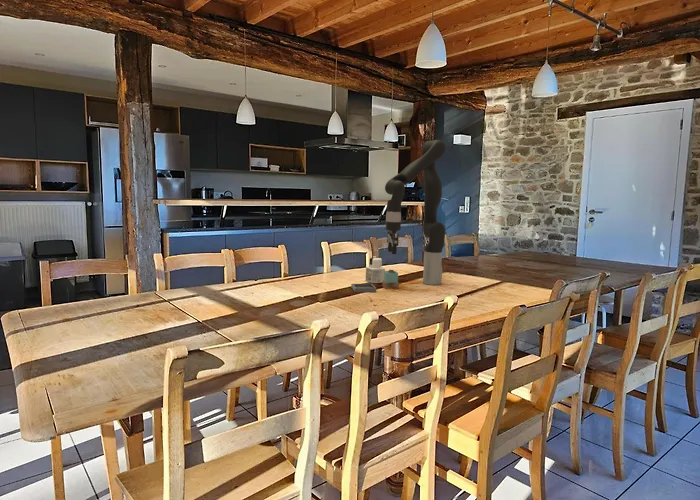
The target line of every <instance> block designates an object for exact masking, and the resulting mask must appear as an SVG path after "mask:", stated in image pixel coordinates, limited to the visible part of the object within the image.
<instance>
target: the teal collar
mask: <svg viewBox="0 0 700 500" xmlns="http://www.w3.org/2000/svg"><path fill="white" fill-rule="evenodd" d="M384 281H385V282H386V283H399V272H397V270H394V273H389V270H385V271H384Z"/></svg>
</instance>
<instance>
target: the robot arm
mask: <svg viewBox="0 0 700 500" xmlns="http://www.w3.org/2000/svg"><path fill="white" fill-rule="evenodd" d="M421 148H422V149H421V154H422V156H420V157H419V158H417V159H415V160H414V161H412V162H410V163H409V164H408V165H407V166H405V168H403V169H402V170H401V172H399V173H398V174H396V175H395V176H393V177H391V178H390V179H389V180H387V182H386V183H385V186H384V191H385V193H387V194H388V195H391V198H390V199H389V200H387V203H386V213H385V214H386V215H385V230H386V231H387V233H386V234H387V235H386V243H387V252H388V253H389V252H391V254H392V255H397V250H398V249H397V247H398V246H399V235H400V234H399V233H397V232H398V231H399V232H400V231H401V227H402V225H401V224H402V213H401V212H402V202H403V199H404V196H405V191H406V187H405V185H408V184H410V183H411V182H413V180H414V179H415V178H416V177H417V176H419V175H420V173H422V172H423V180H424V181H423V186H424V187H423V194H424V195H423V196H424V199H423V200H424V203H423V205H424V206H423V207H424V208H423V209H424V214H423V215H424V216H423V225H422V232H423V235H424V236H425V237H426V238H428V239H429V241H428V244H426V245H425V246H424V257H423V272H422V273H423V275H422V284H425V285H430V286H431V285H432V286H438V285H442V284H443V283H442V280H443V266H442V260H443V259H442V256H443V250H444V246H445V238H446V227H445V225H444V224H443V223H442V222H439V221H437V212H438V209H439V205H440V203H441V200H442V196H443V183H442V180H441V178H440V176H439V173H438V172H437V169H436V161H437V160H439V159H440V158H442V157H443V156H444V155H445V153H446V150H447V147H446V144H445V142H444V141H443V140H440V139H434V140H433V139H432V140H427V141H425V142H424V143H423V144H422V147H421Z"/></svg>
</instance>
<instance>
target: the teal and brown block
mask: <svg viewBox="0 0 700 500" xmlns="http://www.w3.org/2000/svg"><path fill="white" fill-rule="evenodd" d="M388 271H389V273H394V271H395V269H388ZM381 286H382V287H383V288H384V289H385V290H399V289H400V282H398V283H386V282H385V281H384V280H383V282H382V285H381Z"/></svg>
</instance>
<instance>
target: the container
mask: <svg viewBox="0 0 700 500" xmlns="http://www.w3.org/2000/svg"><path fill="white" fill-rule="evenodd" d="M382 259H383V258H381V257H375V256H374V257H370V258H369V266H368V265H367V266H365V281H366V282H368V283H369V284H381V283H382V282H383V280H384V271H386V269H385V267H382V264H383V260H382Z"/></svg>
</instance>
